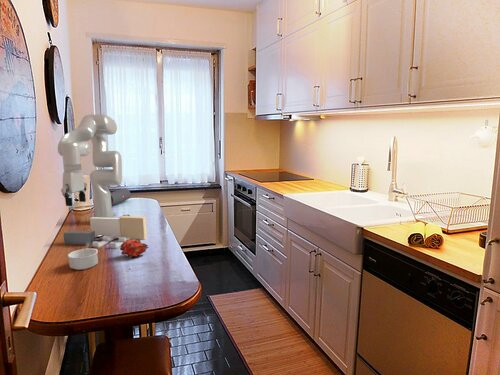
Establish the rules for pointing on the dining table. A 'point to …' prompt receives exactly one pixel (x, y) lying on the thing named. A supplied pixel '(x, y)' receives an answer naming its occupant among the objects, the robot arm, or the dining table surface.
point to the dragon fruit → (133, 248)
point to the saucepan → (83, 258)
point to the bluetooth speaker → (119, 196)
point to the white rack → (118, 229)
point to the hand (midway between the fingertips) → (76, 203)
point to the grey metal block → (79, 237)
